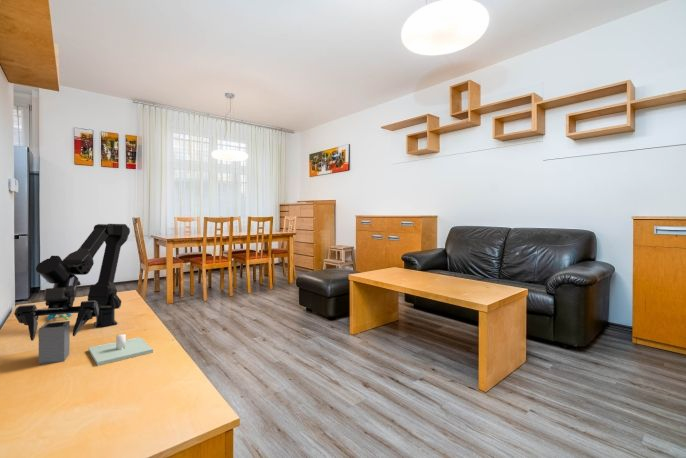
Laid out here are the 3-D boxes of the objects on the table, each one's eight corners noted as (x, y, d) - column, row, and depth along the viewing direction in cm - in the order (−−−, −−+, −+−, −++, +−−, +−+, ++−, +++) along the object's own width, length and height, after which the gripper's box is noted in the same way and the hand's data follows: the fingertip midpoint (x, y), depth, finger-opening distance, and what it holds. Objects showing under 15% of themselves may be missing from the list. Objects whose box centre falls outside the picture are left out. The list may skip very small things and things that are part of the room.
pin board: (88, 350, 102) (88, 334, 102) (139, 339, 112) (140, 325, 112) (97, 365, 93) (97, 348, 92) (153, 352, 103) (153, 336, 102)
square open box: (45, 356, 97) (45, 323, 97) (69, 353, 100) (69, 320, 99) (38, 364, 92) (38, 329, 92) (64, 361, 95) (64, 326, 94)
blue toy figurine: (47, 311, 135) (69, 293, 138) (60, 320, 138) (82, 301, 141) (42, 323, 126) (66, 303, 129) (57, 331, 129) (80, 311, 132)
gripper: (16, 278, 94) (-1, 328, 85) (97, 274, 103) (89, 319, 94) (27, 299, 102) (12, 347, 92) (101, 294, 110) (94, 338, 101)
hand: (53, 337), depth 95 cm, fingers open, 9 cm apart
